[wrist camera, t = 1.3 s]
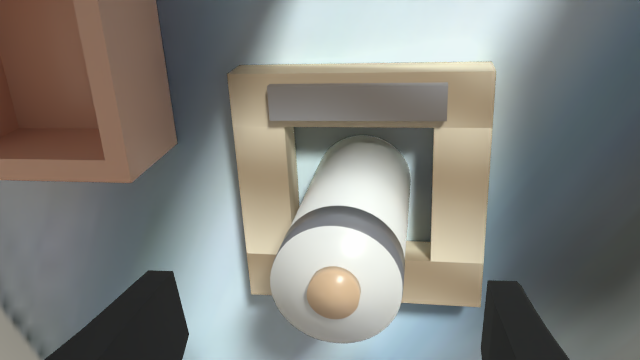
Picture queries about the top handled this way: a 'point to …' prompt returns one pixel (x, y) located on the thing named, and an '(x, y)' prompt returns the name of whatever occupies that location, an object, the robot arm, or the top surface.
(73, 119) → the brown open square box
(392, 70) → the tan square frame
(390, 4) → the top surface
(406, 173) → the cell
